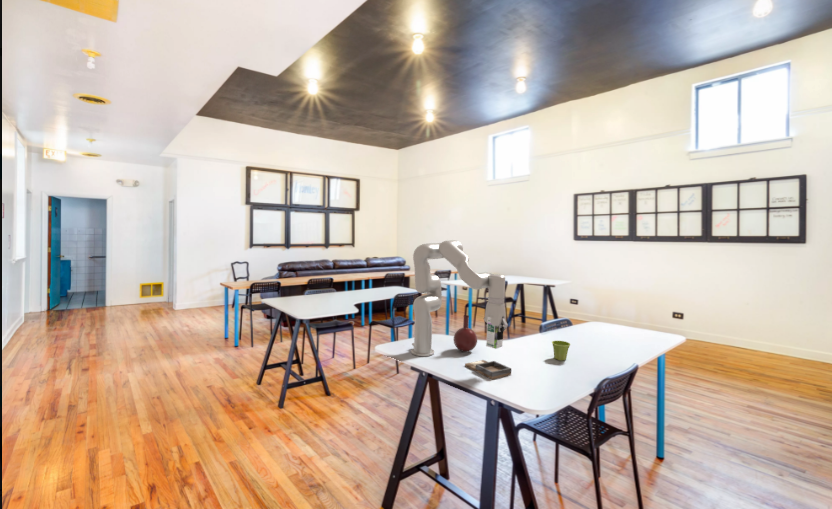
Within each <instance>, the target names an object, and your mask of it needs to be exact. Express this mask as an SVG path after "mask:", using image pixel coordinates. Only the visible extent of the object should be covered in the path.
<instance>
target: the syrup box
mask: <svg viewBox="0 0 832 509" xmlns="http://www.w3.org/2000/svg"><path fill="white" fill-rule="evenodd" d="M490 320H491V318H490V317H488V319H487V327H486V343H485V344H486V345H485V346H486V347H488V348H491V349H495V350H496V349H499V348H501V347H502V348H503V342H504V340H503V339H504V338H503V339H502V340H497V332H498V326H495V325H492V324H491V321H490ZM500 325H501V324H500ZM500 329H501V326H500Z"/></svg>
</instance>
